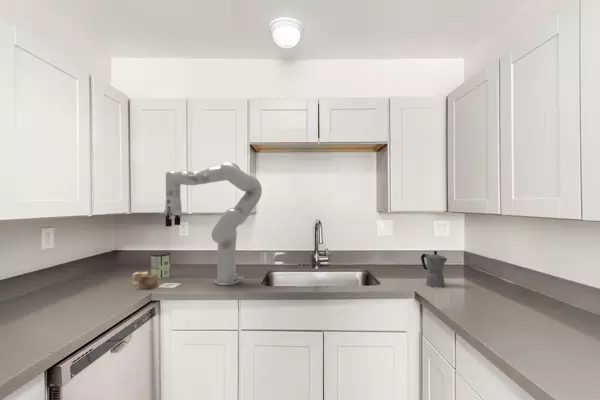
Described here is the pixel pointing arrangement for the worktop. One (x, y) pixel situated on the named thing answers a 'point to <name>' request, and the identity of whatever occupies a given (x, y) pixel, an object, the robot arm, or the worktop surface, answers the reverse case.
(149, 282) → the walnut block
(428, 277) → the coffeepot
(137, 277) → the maple block
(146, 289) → the slate coaster
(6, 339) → the worktop surface
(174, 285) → the tile
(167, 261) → the coffee can
